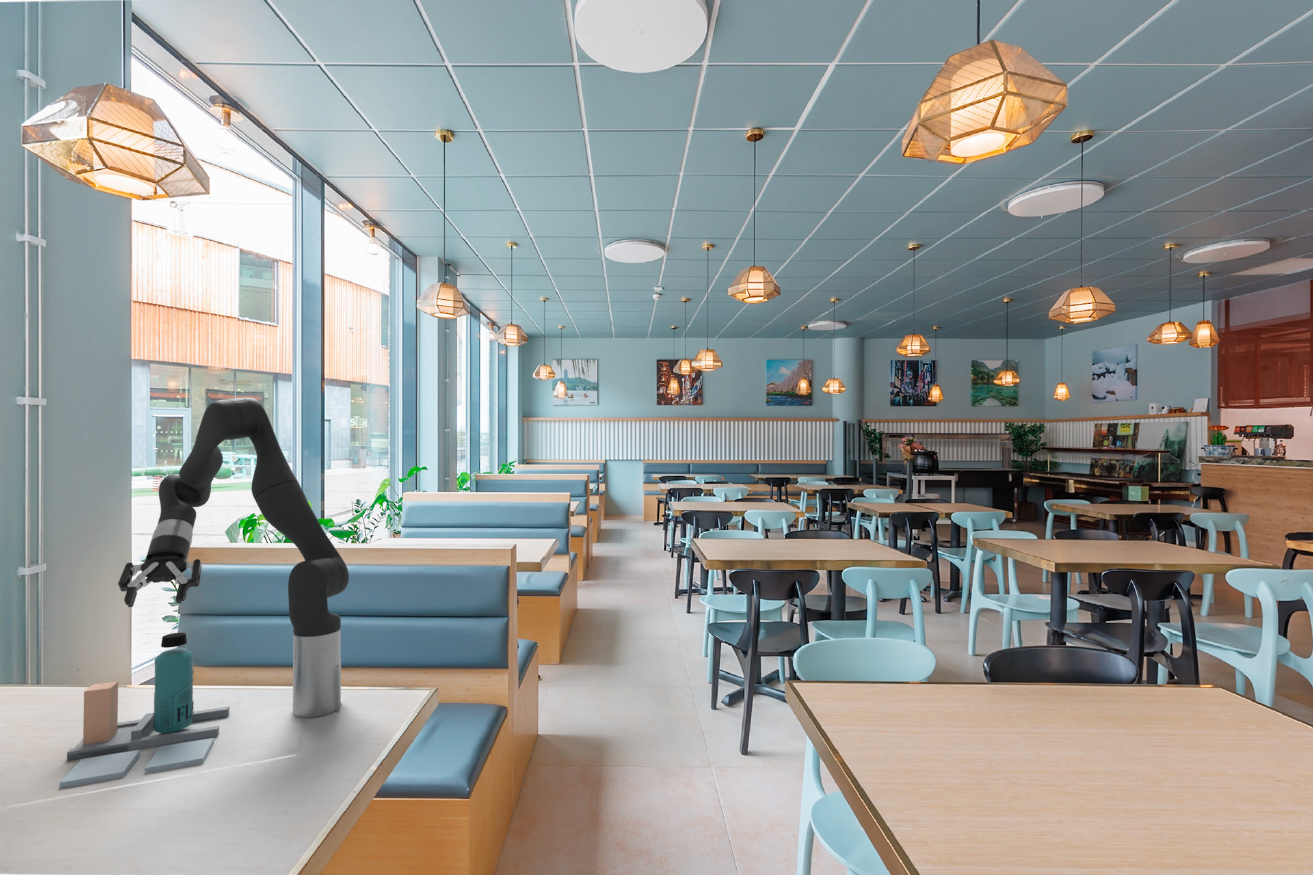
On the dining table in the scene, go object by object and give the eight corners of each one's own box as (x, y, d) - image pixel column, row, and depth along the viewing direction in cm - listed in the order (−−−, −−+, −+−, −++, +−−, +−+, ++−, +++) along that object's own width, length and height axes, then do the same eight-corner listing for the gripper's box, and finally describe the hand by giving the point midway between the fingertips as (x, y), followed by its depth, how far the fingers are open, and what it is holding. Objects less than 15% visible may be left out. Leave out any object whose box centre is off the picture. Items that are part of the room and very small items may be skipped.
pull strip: (229, 713, 136) (230, 662, 136) (217, 736, 125) (217, 680, 125) (93, 733, 127) (94, 678, 127) (66, 760, 115) (67, 699, 116)
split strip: (214, 743, 122) (214, 737, 122) (203, 764, 114) (203, 757, 114) (81, 765, 114) (81, 758, 114) (59, 789, 106) (59, 782, 106)
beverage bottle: (176, 741, 124) (178, 638, 124) (143, 740, 124) (145, 638, 124) (201, 726, 130) (202, 629, 131) (169, 726, 130) (171, 629, 131)
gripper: (129, 534, 142) (108, 596, 132) (205, 532, 148) (191, 590, 137) (136, 554, 147) (117, 616, 136) (209, 551, 153) (196, 609, 142)
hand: (154, 603), depth 137 cm, fingers open, 8 cm apart
